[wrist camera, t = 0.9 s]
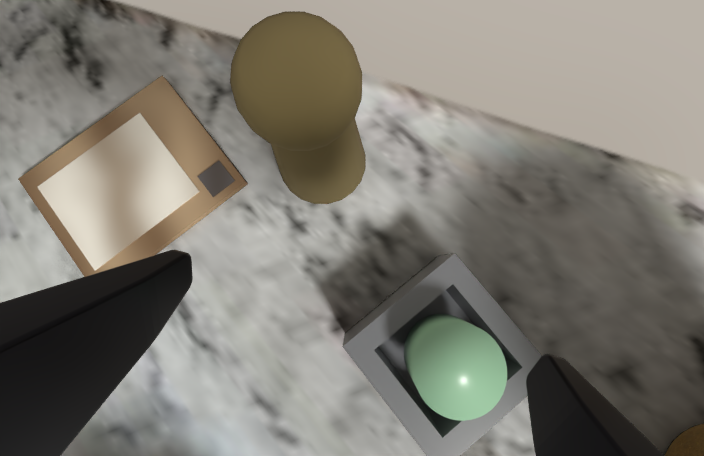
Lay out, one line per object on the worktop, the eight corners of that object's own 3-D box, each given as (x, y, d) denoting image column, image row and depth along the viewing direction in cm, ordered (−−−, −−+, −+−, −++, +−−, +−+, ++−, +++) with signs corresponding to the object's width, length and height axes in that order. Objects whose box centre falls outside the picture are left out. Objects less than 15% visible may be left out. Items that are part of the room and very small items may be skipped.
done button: (438, 411, 17) (455, 441, 14) (387, 347, 18) (394, 363, 15) (498, 360, 18) (526, 378, 15) (446, 297, 18) (464, 303, 15)
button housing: (425, 437, 20) (440, 473, 16) (344, 333, 20) (342, 346, 17) (520, 353, 20) (555, 370, 17) (438, 255, 21) (454, 253, 18)
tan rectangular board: (103, 294, 21) (95, 295, 20) (25, 180, 22) (16, 178, 21) (247, 183, 22) (244, 181, 21) (166, 79, 23) (161, 74, 22)
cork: (274, 126, 22) (197, -8, 11) (359, 114, 22) (362, -32, 11) (284, 210, 22) (211, 150, 11) (371, 197, 22) (387, 125, 11)
